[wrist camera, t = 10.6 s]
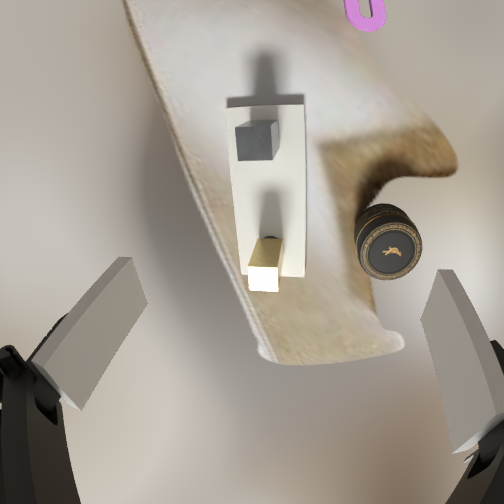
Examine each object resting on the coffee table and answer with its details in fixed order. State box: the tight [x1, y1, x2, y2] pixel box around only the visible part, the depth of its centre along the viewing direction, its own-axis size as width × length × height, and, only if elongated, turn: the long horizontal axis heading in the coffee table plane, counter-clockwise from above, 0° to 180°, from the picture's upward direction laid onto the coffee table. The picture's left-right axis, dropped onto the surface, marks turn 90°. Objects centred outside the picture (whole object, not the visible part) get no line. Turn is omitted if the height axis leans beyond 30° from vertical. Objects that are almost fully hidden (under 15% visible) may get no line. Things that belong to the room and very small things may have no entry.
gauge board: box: [224, 104, 306, 277], centre depth 43 cm, size 28×11×2 cm, turn 4°
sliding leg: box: [248, 238, 283, 291], centre depth 43 cm, size 4×4×8 cm
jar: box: [354, 204, 422, 280], centre depth 40 cm, size 10×10×8 cm
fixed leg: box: [235, 119, 280, 161], centre depth 34 cm, size 4×4×9 cm
